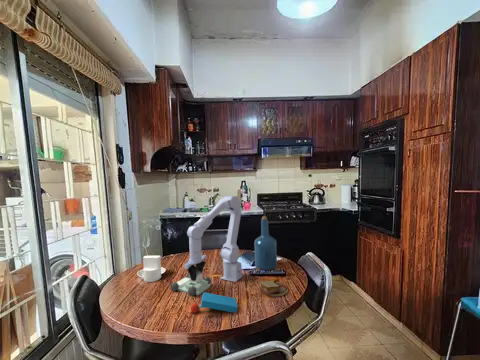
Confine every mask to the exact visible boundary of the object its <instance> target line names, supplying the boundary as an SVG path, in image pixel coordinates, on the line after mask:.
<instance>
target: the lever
mask: <svg viewBox="0 0 480 360" xmlns="http://www.w3.org/2000/svg"><path fill="white" fill-rule="evenodd" d="M203 308H207V309H213V310H217V311H218V310H219V311H224V312H228V313H237V310H238V302H237V298H236V297H230V296H224V295H221V294H214V293H208V292H204V291H203V292H202V296H201V303H200V304H198V303H196V302H195V303H193V304H191V306H190V311H191V313H192V314H193V313H194V314H196V313H197V312H199V310H200V309H203Z"/></svg>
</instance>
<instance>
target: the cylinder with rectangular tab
mask: <svg viewBox="0 0 480 360" xmlns="http://www.w3.org/2000/svg"><path fill="white" fill-rule="evenodd" d="M142 260H143V262H142V263H143V280H144V281H145V282H147V283H153V282H156V281H159V280H160V279H161V278H162V266H161V265H162V261H161V255H144V256H143V258H142Z"/></svg>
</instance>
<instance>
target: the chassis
mask: <svg viewBox="0 0 480 360" xmlns="http://www.w3.org/2000/svg"><path fill="white" fill-rule="evenodd" d="M211 284H212V278H211V277H210V276H208V275H207V276H205V277H203V278H202V281H201V282H200V283H198V284H194V283H190V274H189V273H187V274H186V276H184V277H183V278H181V279H180V280H178V281H177V282H176V281H173V282H172V283H170V289H171V291H172V292H176V291H179V292H183V293H187V294H188V295H189V296H190V297H193V296H199V295H201V294H203V292H204V291H207V290H208V289H209V288H211Z"/></svg>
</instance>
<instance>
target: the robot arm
mask: <svg viewBox="0 0 480 360" xmlns="http://www.w3.org/2000/svg"><path fill="white" fill-rule="evenodd" d="M241 203H242V201H241V200H240V198H239V197H238V196H236V195H235V196H233V195H232V196H231V195H224V196H222V197H221V198H220V199H219V201H218V203H217V204H216V205H215V206H214V207H213V208H212V209H211V210H210V211H209V212H208V214H204V215H201V216H200V219H198V221H196V222H194V224H193V225H190V226H189V227H188V229H187V231H186V234H187V237H188V239H189V240H188V244H189V246H188V247H189V258H188V261H187V262H186V263H184V266H183V267H184V269H185V270H186V271H187V272H188V274H190V277H191V280H192V281H195V280H196V271H197V270H198V271H200V272H201V273H202V274H203V270H204V268H205V266H206V260H207V255H206V254H202V237H203V236H204V232H205V231H206V230H207V229H208V228H209V226H210V225H212V224H213V219H215V217H216V216H218V215H219V214H220V213H221V212H222V211H223V210H228V212H229V213H230V219H229V224H228V229H227V230H228V231H227V236H226V242H225V243H224V244H223V245H222V248H221V250H220V257H221V258H222V265H223V269H222V270H223V275H222V276H221V277H220V279H221V280H225V281H230V282H234V283H235V282H238V280H240V279H241V278H242V277H243V273H242V272H243V268H242V267H243V266H242V263H241V262H239V261H238V260H239V258H240V254H239V249H240V248H239V246H238V245H237V240H238V234H239V228H240V222H241V217H242V209H241ZM204 260H205V261H204Z"/></svg>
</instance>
